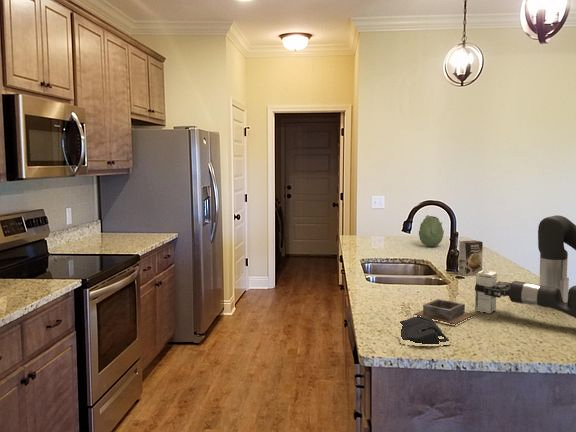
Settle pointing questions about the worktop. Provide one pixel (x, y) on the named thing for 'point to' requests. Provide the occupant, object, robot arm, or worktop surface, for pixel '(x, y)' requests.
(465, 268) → the coffee box
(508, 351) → the worktop surface
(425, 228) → the cabbage
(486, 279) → the syrup box
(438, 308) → the socket board
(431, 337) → the dark slate chunk
